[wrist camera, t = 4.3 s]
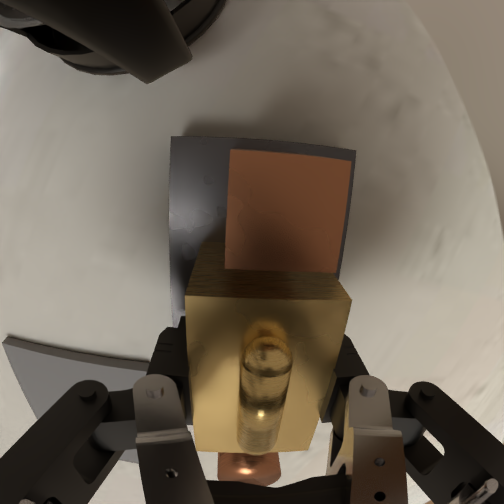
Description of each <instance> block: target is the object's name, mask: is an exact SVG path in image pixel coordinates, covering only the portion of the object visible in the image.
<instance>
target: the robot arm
mask: <svg viewBox="0 0 504 504" xmlns="http://www.w3.org/2000/svg"><path fill="white" fill-rule="evenodd" d="M319 415H320V419H321V422H322V423H327V422H332V425H333V429H332V431H331V434H330V443H329V452H328V461H327V470H326V475H325V476H319V477H312V478H309V479H306V480H302V481H299V482H296V483H293V484H289V485H286V486H283V487H278V488H273V487H266V486H261V485H255V484H250V483H245V482H240V481H214V480H206V478H205V475H204V473H203V470H202V467H201V464H200V461H199V457H198V454H197V451H196V448H195V445H194V441H193V438H192V435H191V433H190V431H188V428H187V425H186V423H193V416H194V413H193V401H192V389H191V375H190V368H188V355H187V337H186V316H181V318H180V321H179V325H178V328H174V327H167V328H166V329H165V330H164V331H163V332H161V333H160V335H159V338H158V341H157V344H156V346H155V349H154V352H153V355H152V358H151V361H150V364H149V367H148V370H147V373H146V376H144V377H141V378H140V379H138V380H137V381H136V382H135V384H134V386H133V388H131V389H128V390H121V391H109V392H108V389H107V387H106V386H105V385H104V384H103V383H101V382H99V381H96V380H83V381H80V382H77V383H76V384H74V385H73V386H72V387H71V388H70V389H69V390H68V391H67V392H66V393H65V394H64V395H63V396H62V397H61V398H60V399H59V400H57V401H56V402H55V403H54V404H53V405H52V406H51V407H50V408H49V409H48V410H47V411H46V412H45V413H44V414H43V415H42V416H41V417H40V418H39V419H38V420H37V421H36V422H35V423H34V424H33V425H32V426H31V427H30V429H29V430H28V431H27V432H26V433H25V434H24V435H23V436H22V437H21V438H20V439H19V440H18V441H17V442H16V443H15V444H14V445H13V446H12V447H11V448H10V449H9V450H8V451H7V452H6V453H5V454H4V455H3V456H2V457H1V458H0V504H88V502H89V501H90V500H91V498H92V497H93V495H94V494H95V493H96V491H97V490H98V488H99V487H100V485H101V484H102V483H103V481H104V480H105V478H106V477H107V476H108V474H109V473H110V471H111V470H112V468H113V467H114V466H115V464H116V463H117V461H118V460H119V458H120V457H121V456H122V454H123V453H124V451H125V450H131V449H137V455H138V462H139V468H140V474H141V480H142V485H143V491H144V496H145V501H146V504H408V493H407V478H406V472H407V473H408V474H409V475H410V477H411V478H412V479H413V480H414V481H415V482H416V483H417V485H418V486H419V487H420V488H421V489H422V490H423V491H424V492H425V494H426V495H427V496H428V497H429V498H430V499H431V500H432V501H433V503H434V504H504V445H503V444H502V443H501V442H500V441H499V440H498V439H496V438H495V437H494V436H493V435H492V434H491V433H490V432H489V431H487V430H486V429H485V428H484V427H483V426H482V425H481V424H480V423H478V422H477V421H476V420H475V419H474V418H473V417H472V416H471V415H469V414H468V413H467V412H466V411H465V410H464V409H463V408H461V407H460V406H459V405H458V404H457V403H456V402H455V401H453V400H452V399H451V398H450V397H449V396H448V395H447V394H445V393H444V392H443V391H442V390H441V389H440V388H439V387H437V386H436V385H434V384H432V383H429V382H423V381H422V382H416V383H414V384H413V385H412V386H411V387H410V389H409V391H408V392H402V391H393V390H388V388H387V386H386V384H385V383H384V382H383V381H382V380H380V379H378V378H376V377H374V376H370V375H369V373H368V371H367V369H366V367H365V365H364V364H363V362H362V360H361V358H360V356H359V355H358V352H357V351H356V349H355V348H354V345H353V343H352V341H351V340H350V338H349V337H348V336H346V335H345V334H344V336H343V340H342V344H341V348H340V351H339V355H338V359H337V362H336V366H335V369H333V371H332V375H331V378H330V382H329V385H328V388H327V391H326V395H325V398H324V401H323V404H322V407H321V411H320V414H319ZM426 429H427V430H428V431H429V432H430V433H431V434H432V435H433V436H434V437H435V438H436V439H437V440H438V441H439V442H440V443H441V444H442V446H443V447H444V451H445V453H444V456H443V455H442V454H441V453H440V452H439V451H438V450H437V449H436V448H435V447H434V446H433V445H432V444H431V443H430V442H429V441H428V440H427V439H426V438H425V437H424V436H423V434H424V432H425V431H426Z"/></svg>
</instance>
